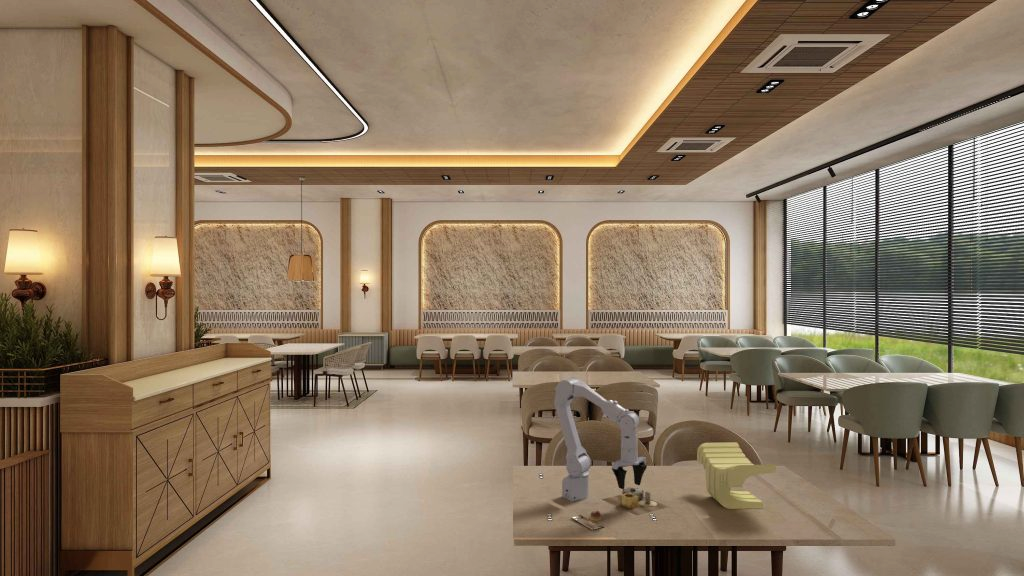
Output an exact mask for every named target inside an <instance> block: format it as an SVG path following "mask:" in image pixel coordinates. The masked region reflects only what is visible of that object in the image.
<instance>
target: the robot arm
mask: <svg viewBox="0 0 1024 576" xmlns="http://www.w3.org/2000/svg"><path fill="white" fill-rule="evenodd" d="M554 389H555V396H554V400H553V401H554V402H553V404H554V407H555V408H554V409H555V411H556V415H557V419H558V422H559V425H560V428H561V432H562V436H563V439H564V442H565V445H566V450H567V452H566V454H565V455H566V456H565V460H566V465H565V466H566V467H565V469H566V471H567V473H568V475H567V476H565V477H563V479H562V481H561V482H562V483H561V485H562V486H561V497H562V498H564V499H566V500H568V501H570V502H576V501H582V500H583V501H584V500H586V499H588V498H589V496H590V495H589V494H590V493H589V491H590V490H589V489H590V485H589V484H590V480H589V478H590V476H589V475H590V473H589V470H590V469H591V467H592V459H591V458H590V456H589V455H588V454H587V450H586V449H585V448H584V447H583V446H582V443H581V440H580V436H579V433H578V430H577V427H576V422H575V419H574V416H573V412H572V409H571V405H570V404H571V403H572V401H573V400H574V398H577V397H579V398H581V397H582V398H584V399H586V400H588V401H589V402H590V403H593V404H594V405H595V406H597V407H600V408H601V411H602V414H603V415H604V416H607V418H609V419H610V420H612V421H614V422H615V423H616V424H618V427H619V429H620V431H621V432H620V459H618V460H616V461H614V462H613V461H612V462H611V470H612V473H614V476H615V479H616V482H617V485H618V489H620V490H621V489H622V490H623V489H625V481H626V474H627V471H628V470H626V469H624V468H627V467H630V466H631V467H632V470H633V481H634V485H636V486H640V485H641V483H642V478H643V477H644V474H645V471H646V469H647V468H648V467H647V466H648V465H647V457H645V456H638V455H639V452H638V451H639V450H638V447H639V445H638V444H639V443H638V441H639V440H638V439H639V437H638V427H639V425H640V417H639V415H638V414H637V413H636V412H634V411H630V410H629V409H628V408H624V407H623V406H621V405H620V404H618V403H619V402H618V401H617V400H612V399H609V400H607V399H606V398H604V397H603V396H602V395H601V394H599V393H598V392H596V391H595V390H594V389H593V388H591V387H590V386H589V385H587V383H586V382H584V381H583V380H580V378H578V377H577V376H574V377H573V376H571V377H569V378H567V379H563V380H562V379H561V380H560V381H559V382H558V384H557V385H556V386H555V388H554Z"/></svg>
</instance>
